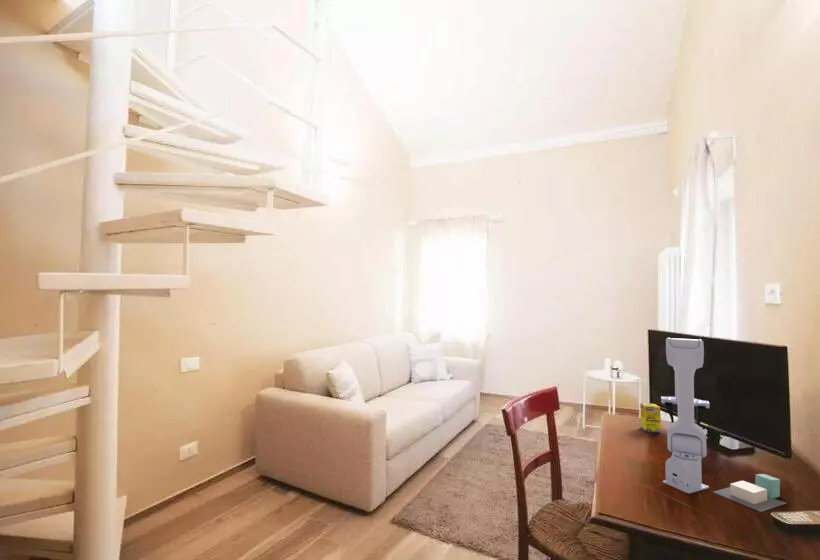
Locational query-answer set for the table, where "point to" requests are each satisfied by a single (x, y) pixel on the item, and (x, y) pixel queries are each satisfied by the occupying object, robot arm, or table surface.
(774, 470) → the table surface
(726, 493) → the grey flat square plate
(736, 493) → the cream slab
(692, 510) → the table surface
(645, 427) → the supplement box
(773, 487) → the teal block
